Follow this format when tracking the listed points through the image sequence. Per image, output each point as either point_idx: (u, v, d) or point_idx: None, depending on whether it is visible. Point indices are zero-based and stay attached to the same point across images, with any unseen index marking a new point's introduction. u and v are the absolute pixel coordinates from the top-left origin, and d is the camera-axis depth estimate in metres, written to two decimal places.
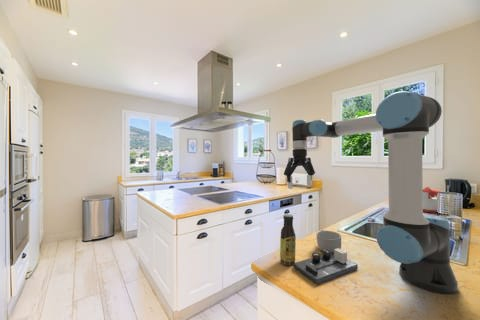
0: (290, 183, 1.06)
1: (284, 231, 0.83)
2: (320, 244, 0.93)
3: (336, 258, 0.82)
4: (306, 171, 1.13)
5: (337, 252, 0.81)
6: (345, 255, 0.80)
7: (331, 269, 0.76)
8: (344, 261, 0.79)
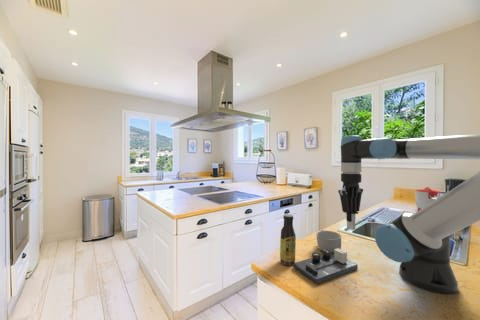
0: (351, 222, 0.84)
1: (284, 231, 0.83)
2: (320, 244, 0.93)
3: (336, 258, 0.82)
4: None
5: (337, 252, 0.81)
6: (345, 255, 0.80)
7: (331, 269, 0.76)
8: (344, 261, 0.79)
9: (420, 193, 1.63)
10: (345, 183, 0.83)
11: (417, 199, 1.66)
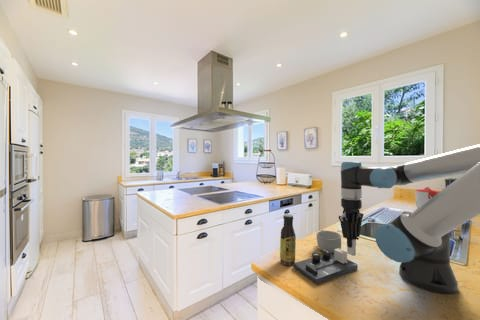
0: (351, 248, 0.83)
1: (284, 231, 0.83)
2: (320, 244, 0.93)
3: (336, 258, 0.82)
4: None
5: (337, 252, 0.81)
6: (345, 255, 0.80)
7: (331, 269, 0.76)
8: (344, 261, 0.79)
9: (420, 193, 1.63)
10: (345, 209, 0.82)
11: (417, 199, 1.66)
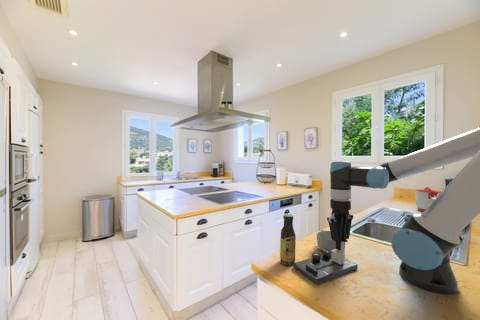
0: None
1: (284, 231, 0.83)
2: (320, 244, 0.93)
3: (333, 259, 0.81)
4: None
5: (334, 253, 0.80)
6: (342, 256, 0.79)
7: (331, 269, 0.76)
8: (341, 262, 0.79)
9: (420, 193, 1.63)
10: (334, 210, 0.80)
11: (417, 199, 1.66)
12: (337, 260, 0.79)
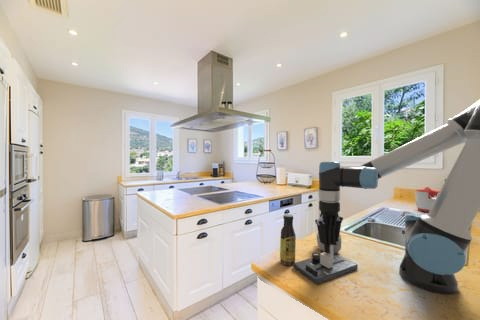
0: (329, 254, 0.78)
1: (284, 231, 0.83)
2: (320, 244, 0.93)
3: (322, 263, 0.78)
4: None
5: (323, 256, 0.78)
6: (331, 260, 0.76)
7: (331, 269, 0.76)
8: (330, 266, 0.76)
9: (420, 193, 1.63)
10: (322, 212, 0.77)
11: (417, 199, 1.66)
12: (325, 264, 0.77)
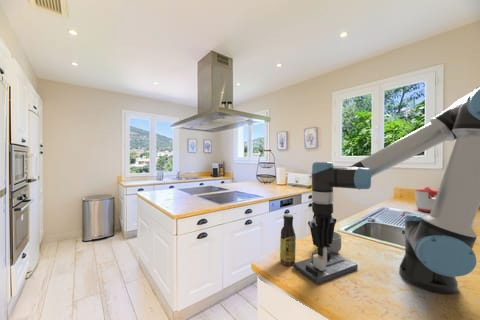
0: None
1: (284, 231, 0.83)
2: None
3: (315, 265, 0.76)
4: None
5: (316, 258, 0.76)
6: (324, 262, 0.74)
7: (331, 269, 0.76)
8: (323, 268, 0.74)
9: (420, 193, 1.63)
10: (315, 214, 0.75)
11: (417, 199, 1.66)
12: (318, 266, 0.75)
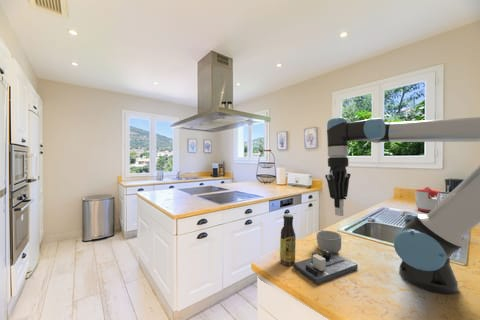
0: (339, 209, 0.80)
1: (284, 231, 0.83)
2: (320, 244, 0.93)
3: (314, 265, 0.76)
4: None
5: (315, 259, 0.76)
6: (324, 262, 0.74)
7: (331, 269, 0.76)
8: (322, 268, 0.74)
9: (420, 193, 1.63)
10: (332, 167, 0.79)
11: (417, 199, 1.66)
12: (318, 266, 0.75)
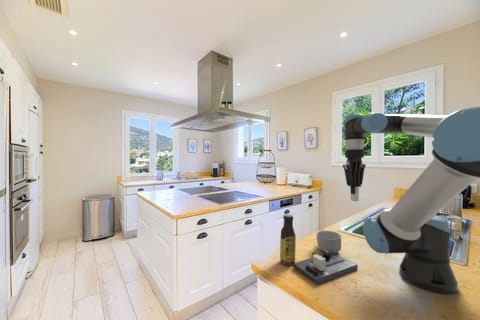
0: (355, 195, 0.90)
1: (284, 231, 0.83)
2: (320, 244, 0.93)
3: (314, 265, 0.76)
4: None
5: (315, 259, 0.76)
6: (324, 262, 0.74)
7: (331, 269, 0.76)
8: (322, 268, 0.74)
9: None
10: (349, 158, 0.90)
11: None
12: (318, 266, 0.75)
